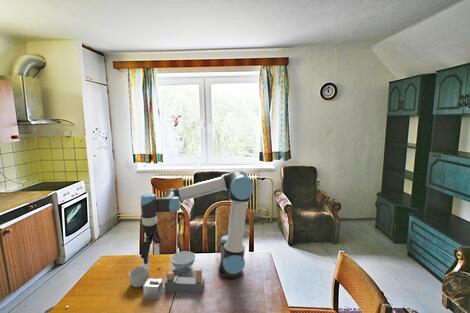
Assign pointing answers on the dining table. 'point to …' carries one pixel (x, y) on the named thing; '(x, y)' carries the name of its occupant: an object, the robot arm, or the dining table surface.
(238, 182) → the robot arm
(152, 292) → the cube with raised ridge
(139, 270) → the teacup
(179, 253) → the chinaware
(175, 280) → the plane
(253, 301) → the dining table surface
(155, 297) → the mat
